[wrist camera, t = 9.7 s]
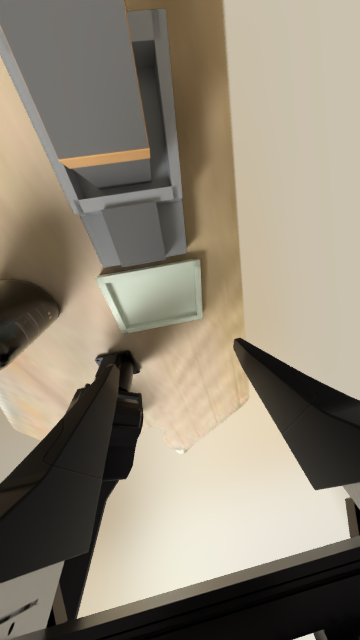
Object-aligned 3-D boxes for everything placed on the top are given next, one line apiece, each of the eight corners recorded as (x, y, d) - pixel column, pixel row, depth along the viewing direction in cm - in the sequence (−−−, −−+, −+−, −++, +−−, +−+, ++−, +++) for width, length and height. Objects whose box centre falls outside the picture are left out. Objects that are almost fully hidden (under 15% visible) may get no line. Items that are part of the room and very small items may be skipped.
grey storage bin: (183, 251, 17) (190, 255, 14) (108, 264, 16) (96, 272, 13) (164, 66, 10) (169, -15, 7) (31, 80, 9) (-35, 0, 6)
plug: (152, 182, 12) (149, 148, 7) (99, 190, 12) (57, 160, 7) (135, 89, 9) (111, -78, 4) (67, 96, 9) (-44, -71, 4)
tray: (200, 314, 23) (202, 318, 22) (124, 329, 22) (123, 334, 21) (197, 258, 18) (200, 259, 17) (98, 275, 17) (95, 278, 16)
